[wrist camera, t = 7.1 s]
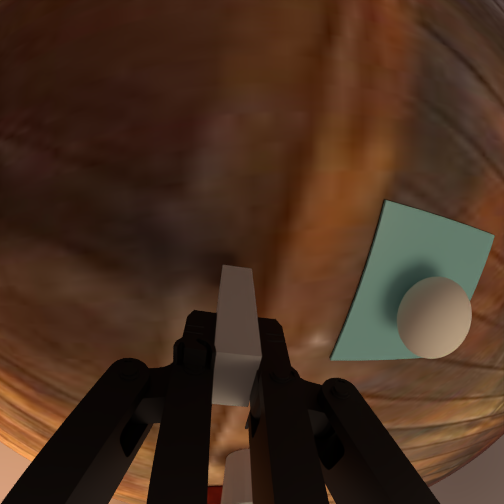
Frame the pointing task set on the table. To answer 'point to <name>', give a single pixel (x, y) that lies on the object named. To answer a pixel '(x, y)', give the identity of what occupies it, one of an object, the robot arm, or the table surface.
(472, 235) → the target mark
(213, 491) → the frying pan
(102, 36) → the table surface
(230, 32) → the table surface
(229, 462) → the white cylinder
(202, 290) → the table surface
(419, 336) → the ball
